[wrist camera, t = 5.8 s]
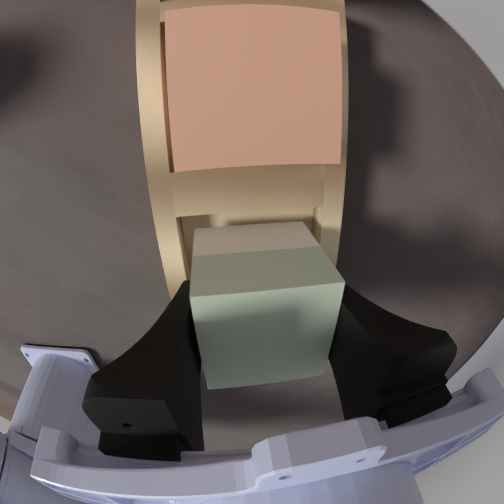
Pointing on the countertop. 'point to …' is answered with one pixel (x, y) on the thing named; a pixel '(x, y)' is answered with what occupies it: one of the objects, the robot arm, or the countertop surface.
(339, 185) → the socket board
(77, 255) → the countertop surface
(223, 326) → the two tone brick
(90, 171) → the countertop surface
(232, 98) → the terracotta brick
